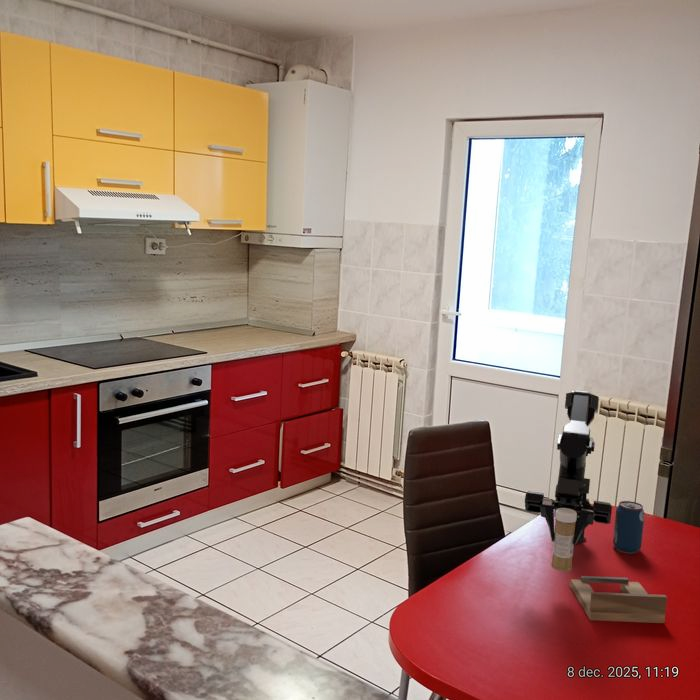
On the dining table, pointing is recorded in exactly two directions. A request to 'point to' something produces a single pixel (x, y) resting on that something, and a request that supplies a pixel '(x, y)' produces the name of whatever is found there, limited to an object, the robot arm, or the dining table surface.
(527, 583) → the dining table surface
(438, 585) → the dining table surface
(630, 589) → the wooden frame
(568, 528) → the sprinkles bottle
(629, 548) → the soda can
